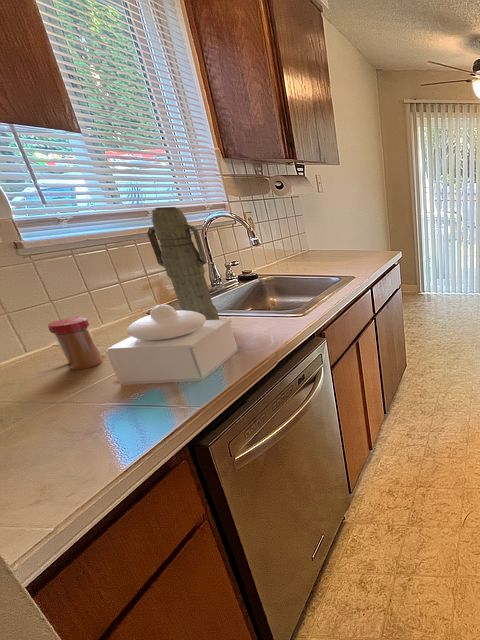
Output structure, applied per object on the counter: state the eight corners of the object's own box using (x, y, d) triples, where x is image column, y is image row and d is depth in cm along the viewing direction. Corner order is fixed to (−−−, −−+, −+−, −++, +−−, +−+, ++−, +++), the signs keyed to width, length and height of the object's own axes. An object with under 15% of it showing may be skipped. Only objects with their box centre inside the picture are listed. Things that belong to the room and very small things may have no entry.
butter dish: (168, 353, 105) (147, 294, 98) (240, 350, 106) (223, 292, 99) (120, 385, 89) (90, 317, 82) (204, 380, 90) (181, 313, 83)
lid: (96, 325, 97) (93, 318, 96) (62, 334, 91) (59, 327, 91) (77, 322, 99) (74, 316, 98) (43, 332, 93) (40, 324, 93)
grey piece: (187, 329, 122) (146, 207, 107) (230, 325, 125) (196, 205, 110) (176, 339, 114) (130, 209, 99) (223, 335, 117) (184, 207, 102)
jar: (65, 367, 98) (45, 327, 93) (93, 358, 103) (76, 319, 98) (80, 371, 96) (60, 330, 91) (108, 361, 101) (91, 321, 96)
